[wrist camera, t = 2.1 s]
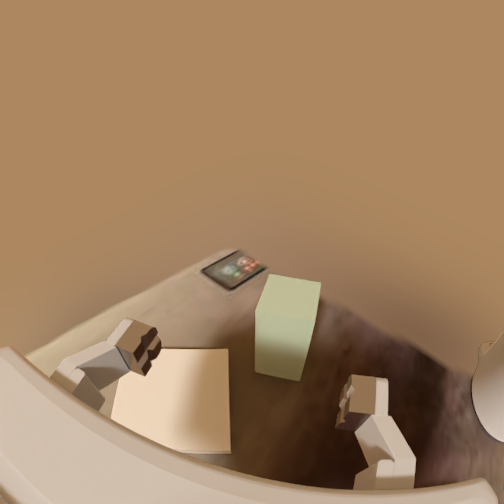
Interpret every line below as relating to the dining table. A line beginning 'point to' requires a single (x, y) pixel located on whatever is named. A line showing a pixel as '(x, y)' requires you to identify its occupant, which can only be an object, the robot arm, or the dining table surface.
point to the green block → (285, 326)
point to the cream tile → (179, 401)
